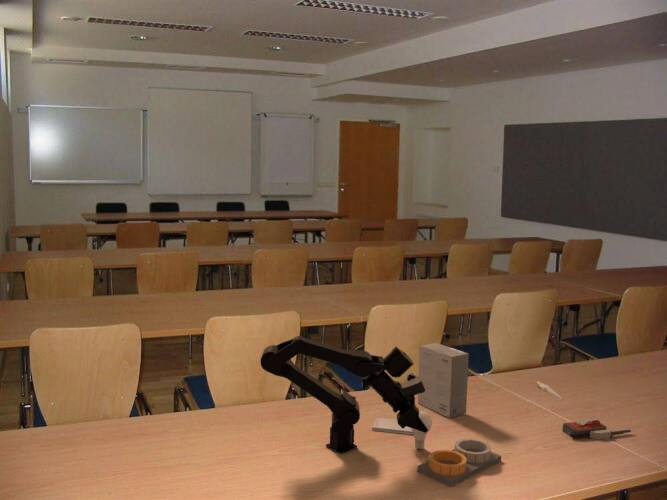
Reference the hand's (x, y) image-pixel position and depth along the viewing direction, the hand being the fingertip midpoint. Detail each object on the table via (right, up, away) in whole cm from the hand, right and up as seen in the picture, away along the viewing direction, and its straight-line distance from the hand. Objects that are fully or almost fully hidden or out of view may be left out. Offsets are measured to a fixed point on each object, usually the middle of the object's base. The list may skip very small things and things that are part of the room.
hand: (425, 426), depth 193 cm
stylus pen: (+50, -1, +49) cm, 70 cm away
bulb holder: (+8, -8, -9) cm, 15 cm away
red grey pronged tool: (+53, -6, +14) cm, 55 cm away
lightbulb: (-1, -7, +1) cm, 7 cm away
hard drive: (-7, -5, +16) cm, 18 cm away
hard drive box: (+9, -2, +31) cm, 33 cm away
